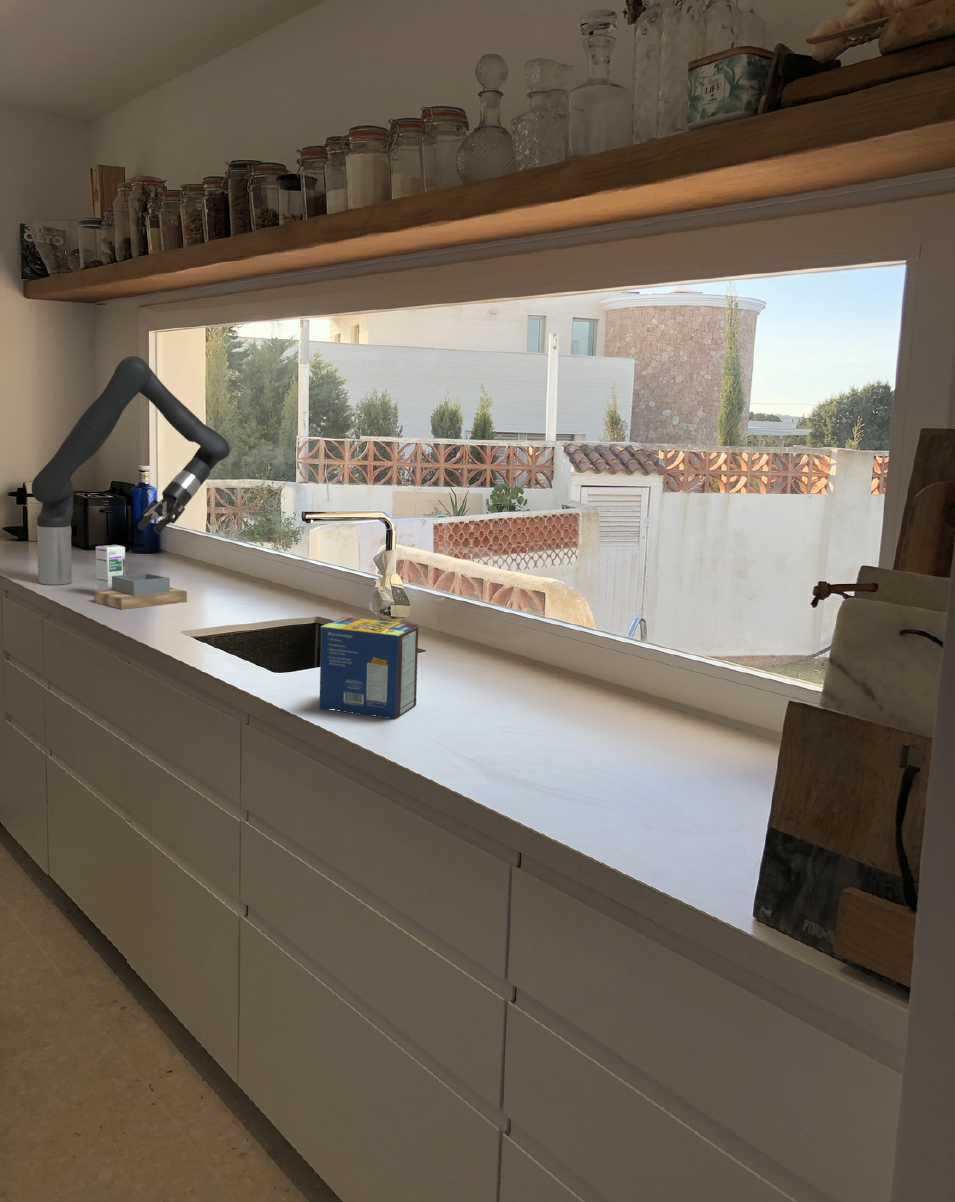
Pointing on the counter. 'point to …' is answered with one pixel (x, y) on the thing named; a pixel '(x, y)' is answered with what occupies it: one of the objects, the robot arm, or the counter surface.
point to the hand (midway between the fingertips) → (147, 530)
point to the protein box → (368, 667)
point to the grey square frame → (140, 584)
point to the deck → (138, 598)
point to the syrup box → (109, 565)
